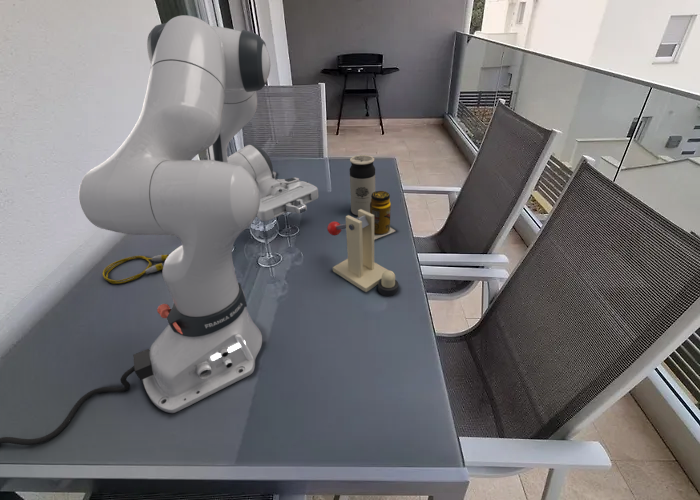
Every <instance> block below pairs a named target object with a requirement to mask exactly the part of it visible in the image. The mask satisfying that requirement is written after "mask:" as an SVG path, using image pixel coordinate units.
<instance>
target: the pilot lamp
mask: <svg viewBox="0 0 700 500" xmlns="http://www.w3.org/2000/svg"><path fill="white" fill-rule="evenodd" d="M377 291H378V293H379V294H380V295H382V296H385V297H392V296H395V295H397V293H398V292H399V281H398V280H396V274H395V273H394V271H392V270H389V269H387V271H385V272H383V274H382V279H381V280H379V282H378V285H377Z"/></svg>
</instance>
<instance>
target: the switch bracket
mask: <svg viewBox="0 0 700 500" xmlns="http://www.w3.org/2000/svg"><path fill="white" fill-rule="evenodd" d="M364 215H365V216H366V219H367V221H368V224H369V225H368V226H366V227H364V228H362V221H360V220H358V219H356V218H357V217H360V216H364ZM357 217H354V216H351V215H350V214H347V215H346V216H345V223H346V228H345V231H346V233H345V234H346V250H347V258H345V259H344V260H343V261H341V262H339V263H337V264H336V265H334V266H332V272H333V273H335V274H336V275H338V276H340V277H341V278H343V279H344V280H345V281H348V282H349V283H350V284H352V285H353V286H355V287H356V288H358V289H360V290H361V291H362V292H365V293H368V292H369V291H371V290H372V289H373V288H374V287H376V286H378V282H379V280H381V279H382V274H383V272H385V271H387V270H388V269H387V268H386V267H384V266H382V265H381V264H378V263H377V262H376V261H375V240H374V215H373V214H371V213H369V212H366V211H364V210H362V209H360V210H358V215H357Z"/></svg>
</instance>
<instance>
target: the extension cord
mask: <svg viewBox="0 0 700 500" xmlns="http://www.w3.org/2000/svg"><path fill="white" fill-rule="evenodd" d="M169 255H170V254H158V255H155V256H152V257H146V256H145V255H133V256H128V257H125V258H121V259H119V260H116V261H114V262H112V263H110V264H108V265H107V266H106V267H105V268H104V269H103V270H102V277H103V279H104V280H106V281H107V282H109V283H111V284H114V285H119V284H125V283H128V282H132V281H134V280H137V279H139V278H140V277H142V276H143V275H144V274H146V275H148V274H153V273H154V274H155V273H157V272H159V271H163V266H164V265H163V263H162V262H165V260H166V259H167V257H168V256H169ZM136 259H142V260H146V261H147V262H148V265H147V266H146V268H145V269H144V270H142V272H140V273H138V274H135V275H133V276H129V277H127V278H123V279H118V280H117V279H116V280H115V279H111V278H109V273H110V272H111V271H112V270H113V269H114V268H116V267H118V266H119V265H121V264H124V263H126V262H128V261H132V260H136ZM151 260H152V262H159V263H157V264H154V265H153V264H152V262H151Z"/></svg>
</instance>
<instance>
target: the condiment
mask: <svg viewBox="0 0 700 500" xmlns="http://www.w3.org/2000/svg"><path fill="white" fill-rule="evenodd" d="M371 197H372V198H371V202H370V213H371V214H373V215H374V241H375V240H377V239H379V238H380V239H381V238H382V237H385V236H388V235H390V234H393V233H396V229H394V228H393V227H391V212H392V211H391V207H392V203H391V201H390V200H391V199H390V197H391V195H390V193H389V192H387V191H385V190H377V191H376V190H375V192H373V193H372V195H371Z"/></svg>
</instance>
